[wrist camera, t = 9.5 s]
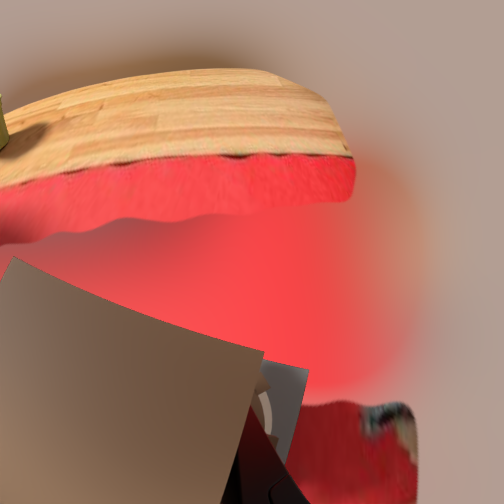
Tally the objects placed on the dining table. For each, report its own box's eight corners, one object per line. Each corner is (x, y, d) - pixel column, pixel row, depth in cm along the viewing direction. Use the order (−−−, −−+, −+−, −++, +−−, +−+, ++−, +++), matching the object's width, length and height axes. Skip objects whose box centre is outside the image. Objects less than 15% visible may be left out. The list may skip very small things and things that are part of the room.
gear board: (247, 556, 11) (248, 566, 10) (-4, 434, 13) (-15, 433, 11) (303, 372, 19) (310, 369, 18) (48, 283, 21) (38, 275, 19)
